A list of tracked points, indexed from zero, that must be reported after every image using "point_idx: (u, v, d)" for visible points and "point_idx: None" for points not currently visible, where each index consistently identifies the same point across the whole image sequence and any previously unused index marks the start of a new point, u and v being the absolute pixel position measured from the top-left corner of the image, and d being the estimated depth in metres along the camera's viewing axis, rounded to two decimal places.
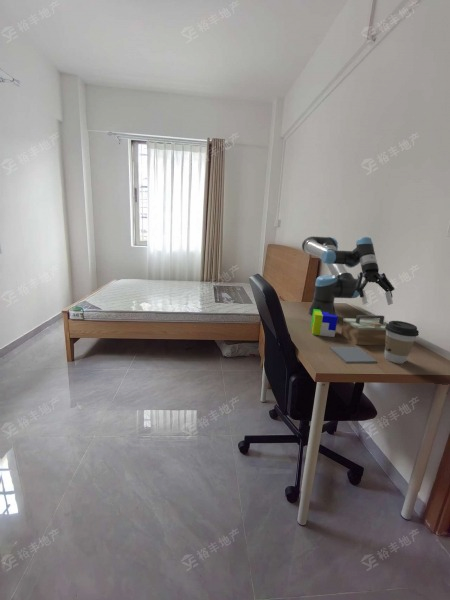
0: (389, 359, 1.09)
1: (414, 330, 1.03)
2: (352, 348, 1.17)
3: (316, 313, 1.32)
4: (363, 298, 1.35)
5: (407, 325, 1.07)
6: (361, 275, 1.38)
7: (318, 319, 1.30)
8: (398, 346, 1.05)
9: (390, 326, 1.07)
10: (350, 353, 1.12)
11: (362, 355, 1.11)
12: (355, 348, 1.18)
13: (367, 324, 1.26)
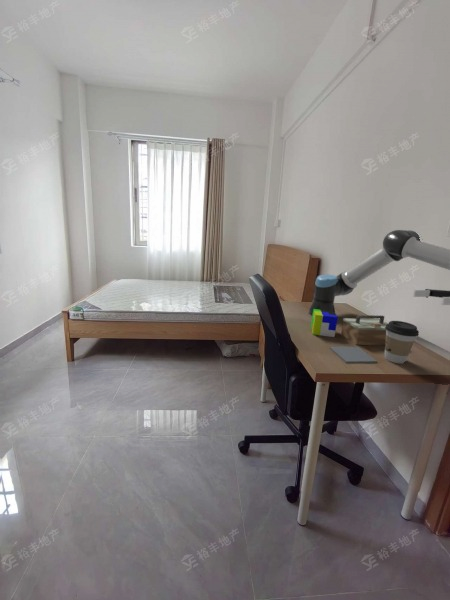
0: (389, 359, 1.09)
1: (414, 330, 1.03)
2: (352, 348, 1.17)
3: (316, 313, 1.32)
4: None
5: (407, 325, 1.07)
6: None
7: (319, 319, 1.30)
8: (398, 346, 1.05)
9: (390, 326, 1.07)
10: (350, 353, 1.12)
11: (362, 355, 1.11)
12: (355, 348, 1.18)
13: (367, 324, 1.26)
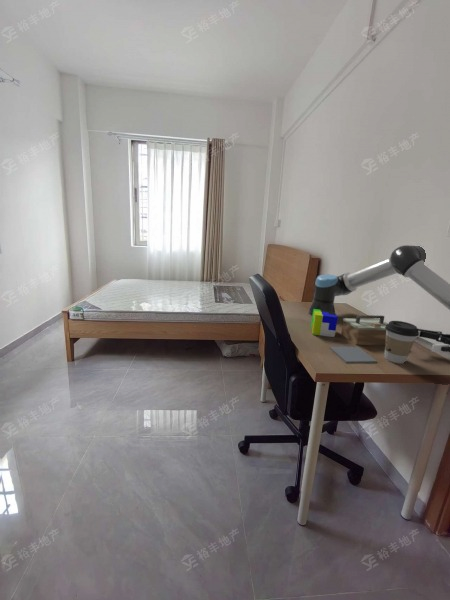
0: (389, 359, 1.09)
1: (414, 330, 1.03)
2: (352, 348, 1.17)
3: (316, 313, 1.32)
4: (439, 348, 1.03)
5: (407, 325, 1.07)
6: None
7: (318, 319, 1.30)
8: (398, 346, 1.05)
9: (390, 326, 1.07)
10: (350, 353, 1.12)
11: (362, 355, 1.11)
12: (355, 348, 1.18)
13: (367, 324, 1.26)
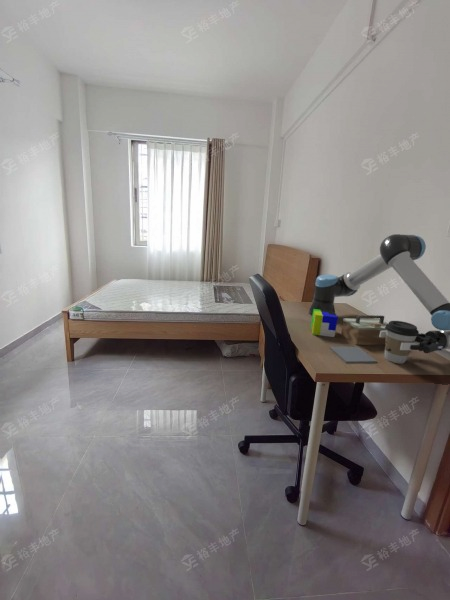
0: (389, 359, 1.09)
1: (414, 330, 1.03)
2: (352, 348, 1.17)
3: (316, 313, 1.32)
4: (408, 347, 1.02)
5: (407, 325, 1.07)
6: None
7: (319, 319, 1.30)
8: (398, 346, 1.05)
9: (390, 326, 1.07)
10: (350, 353, 1.12)
11: (362, 355, 1.11)
12: (355, 348, 1.18)
13: (367, 324, 1.26)
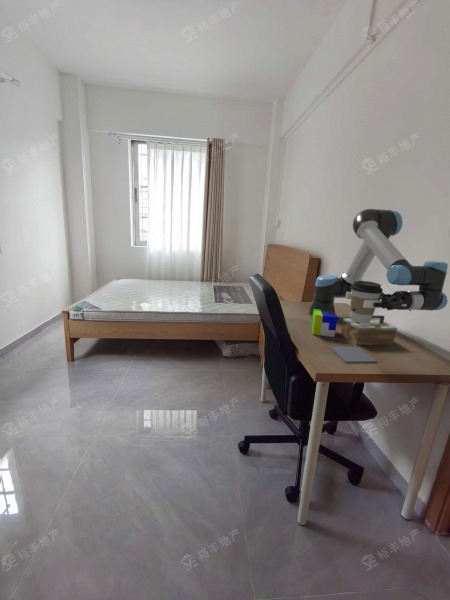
0: (354, 319, 1.07)
1: (377, 287, 1.00)
2: (352, 348, 1.17)
3: (316, 313, 1.32)
4: (371, 304, 1.00)
5: (372, 284, 1.04)
6: None
7: (319, 319, 1.30)
8: (362, 305, 1.03)
9: (354, 285, 1.05)
10: (350, 353, 1.12)
11: (362, 355, 1.11)
12: (355, 348, 1.18)
13: (367, 324, 1.26)
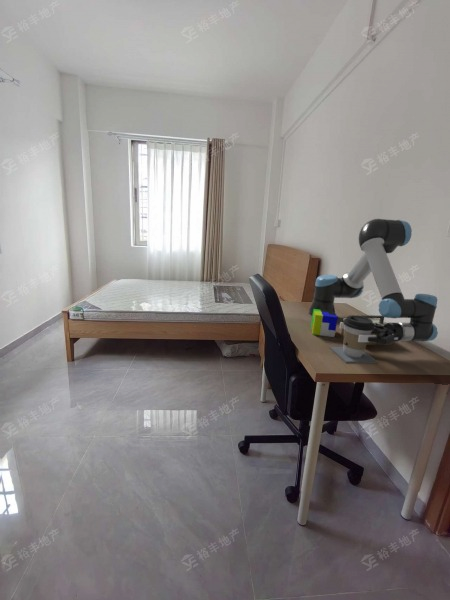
0: (346, 353, 1.11)
1: (369, 324, 1.04)
2: None
3: (316, 313, 1.32)
4: (365, 339, 1.03)
5: (364, 320, 1.08)
6: None
7: (318, 319, 1.30)
8: (354, 340, 1.07)
9: (347, 320, 1.08)
10: None
11: (362, 355, 1.11)
12: None
13: None
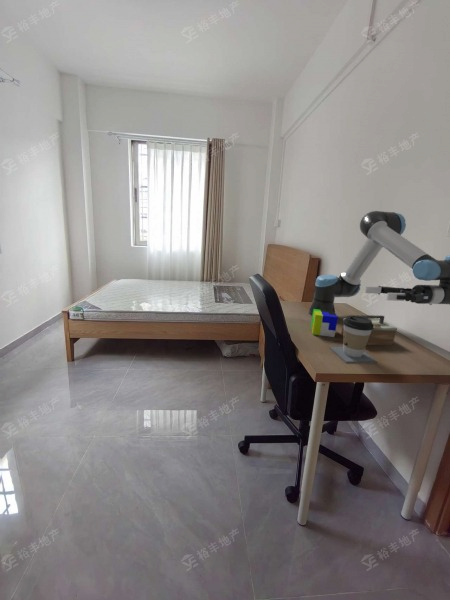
0: (346, 353, 1.11)
1: (368, 324, 1.05)
2: None
3: (316, 313, 1.32)
4: (394, 297, 1.00)
5: (363, 319, 1.09)
6: (422, 300, 1.03)
7: (318, 319, 1.30)
8: (354, 340, 1.07)
9: (346, 321, 1.09)
10: None
11: (362, 355, 1.11)
12: None
13: None
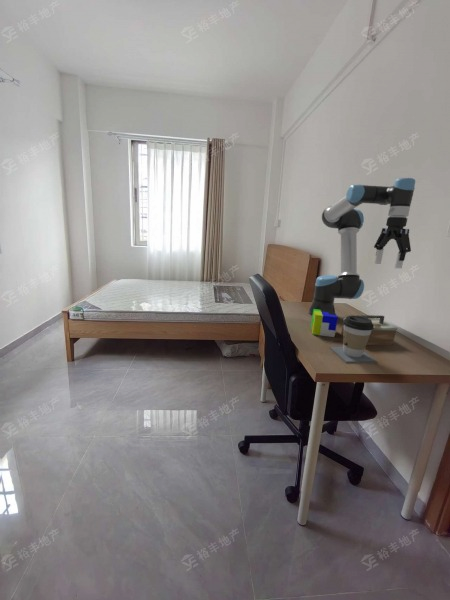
0: (346, 353, 1.11)
1: (368, 324, 1.05)
2: None
3: (316, 313, 1.32)
4: None
5: (363, 319, 1.09)
6: (382, 232, 1.26)
7: (319, 319, 1.30)
8: (354, 340, 1.07)
9: (346, 320, 1.09)
10: None
11: (362, 355, 1.11)
12: None
13: None
